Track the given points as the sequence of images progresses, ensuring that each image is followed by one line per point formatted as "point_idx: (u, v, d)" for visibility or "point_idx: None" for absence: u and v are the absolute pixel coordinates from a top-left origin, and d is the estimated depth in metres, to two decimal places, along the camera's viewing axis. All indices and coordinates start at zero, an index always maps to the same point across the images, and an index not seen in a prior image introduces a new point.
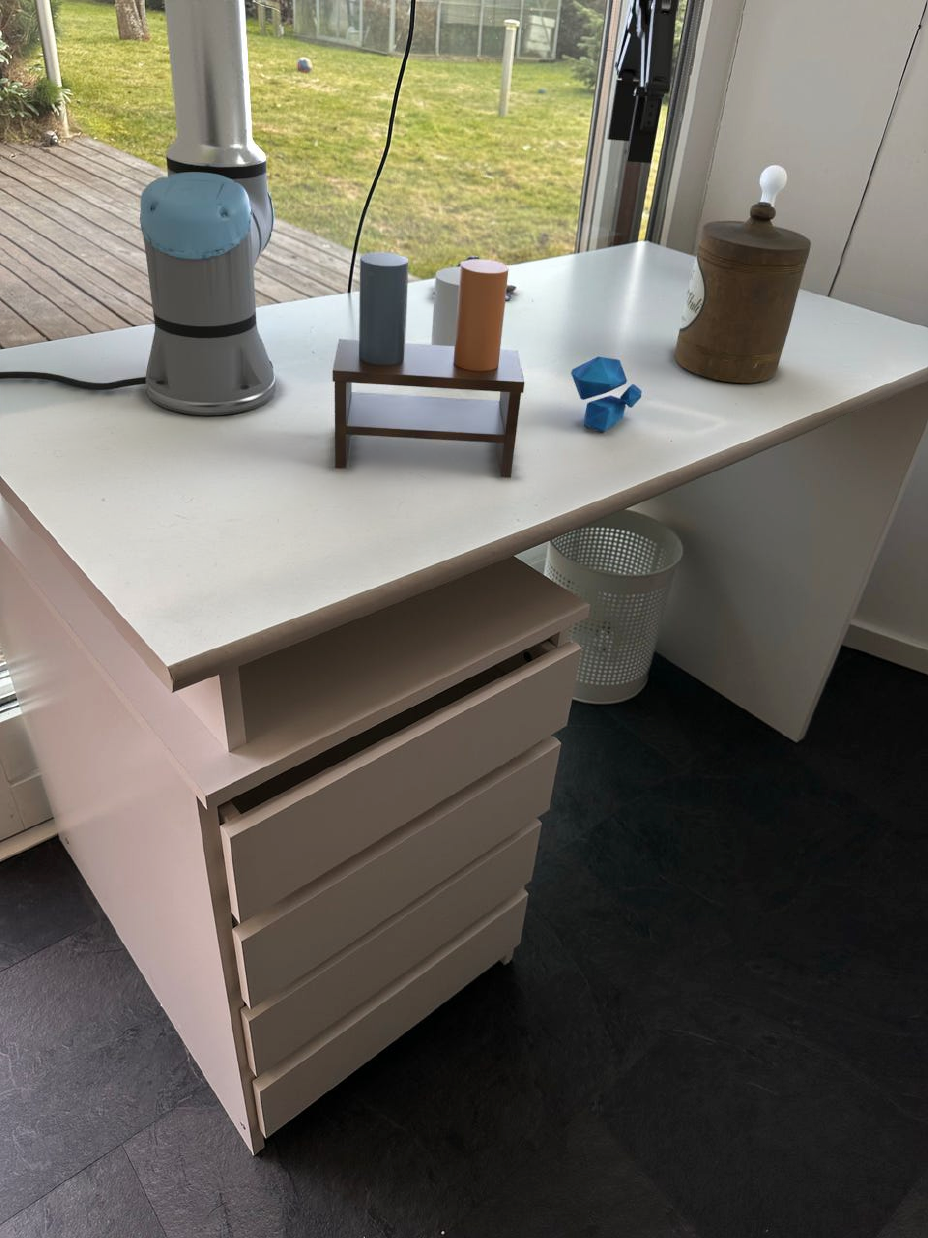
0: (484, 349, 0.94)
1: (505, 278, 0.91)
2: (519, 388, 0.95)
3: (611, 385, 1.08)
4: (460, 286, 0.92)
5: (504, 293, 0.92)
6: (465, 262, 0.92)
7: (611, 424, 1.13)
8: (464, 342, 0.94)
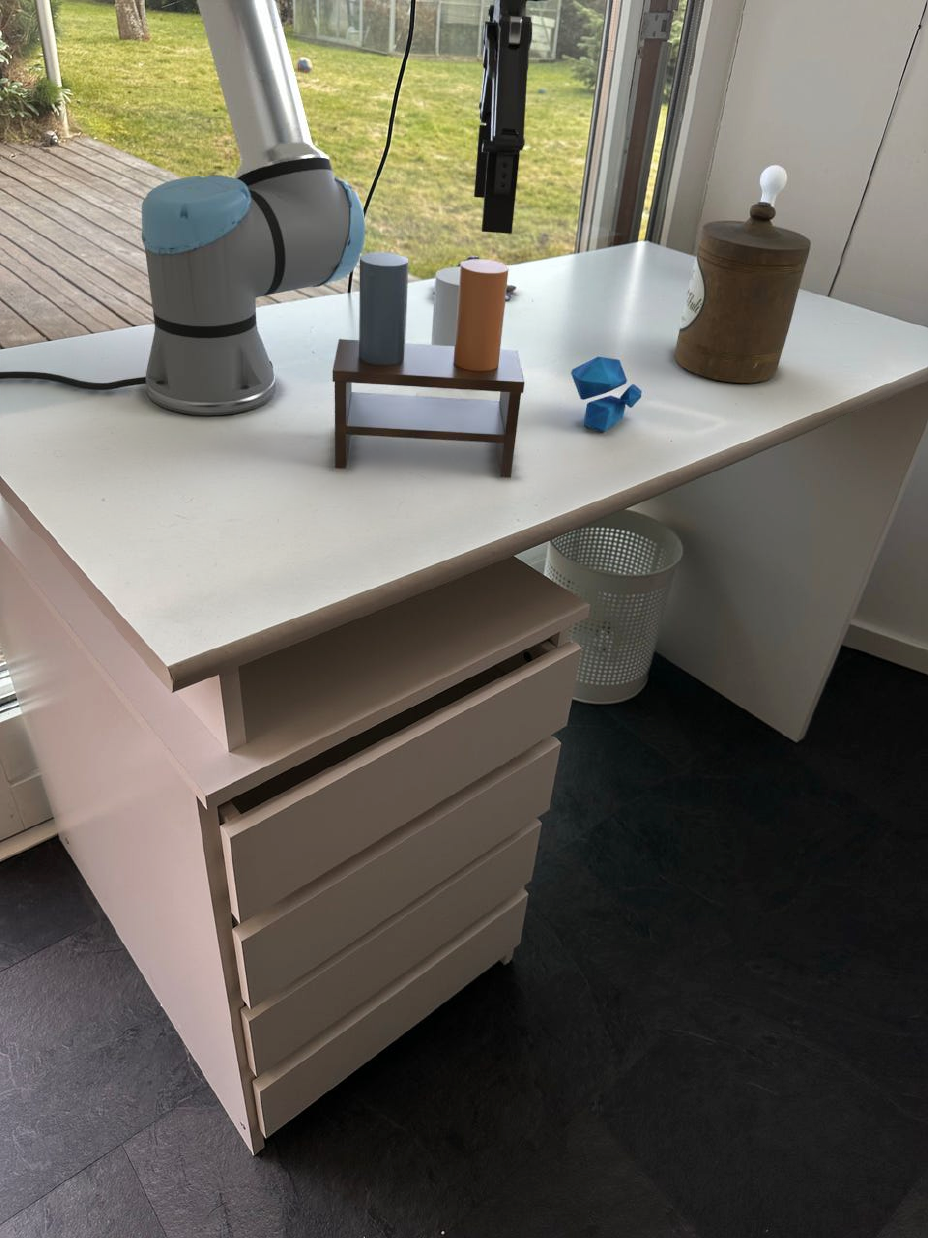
0: (484, 349, 0.94)
1: (505, 278, 0.91)
2: (519, 388, 0.95)
3: (611, 385, 1.08)
4: (460, 286, 0.92)
5: (504, 293, 0.92)
6: (465, 262, 0.92)
7: (611, 424, 1.13)
8: (464, 342, 0.94)
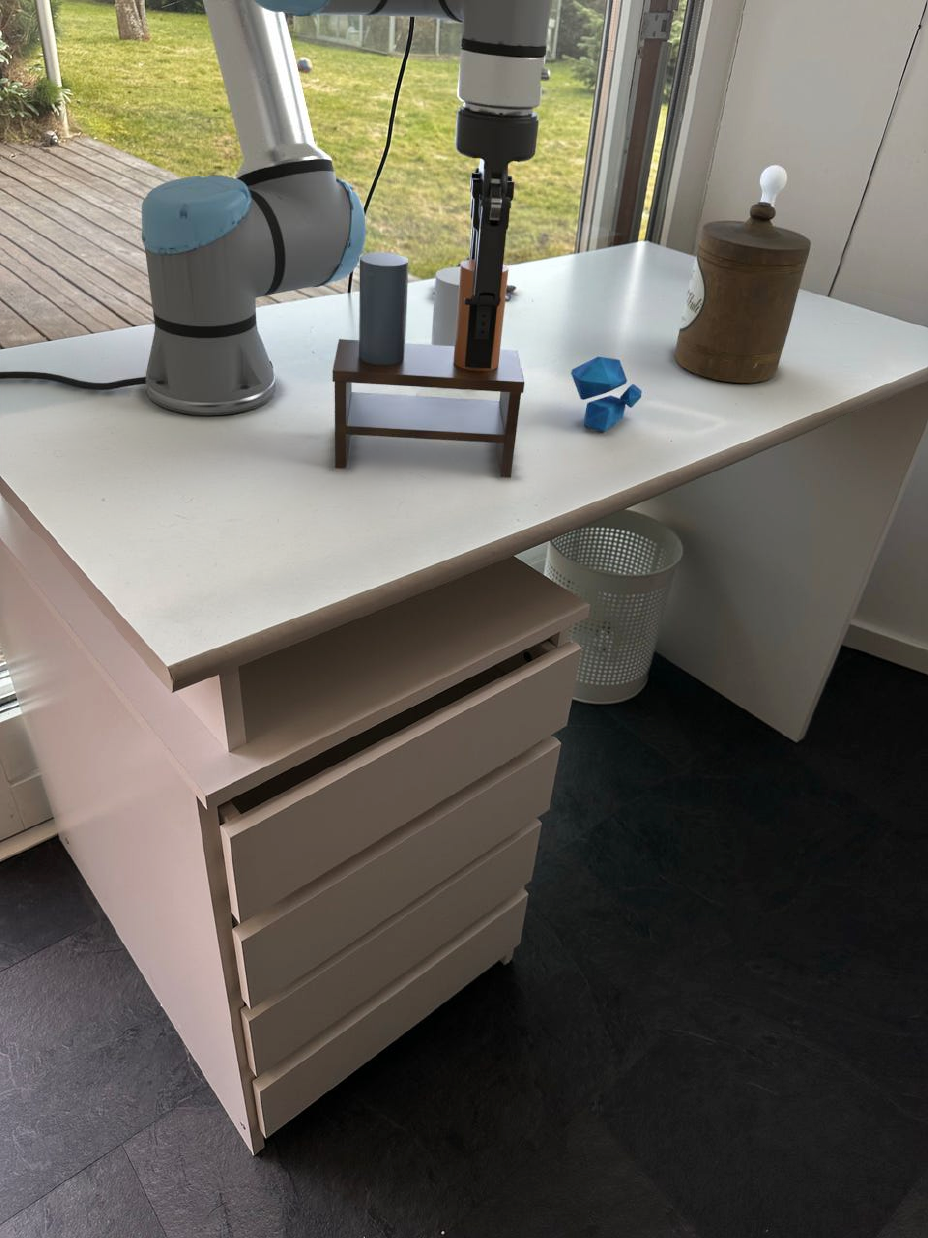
0: None
1: (505, 278, 0.91)
2: (519, 388, 0.95)
3: (611, 385, 1.08)
4: (460, 286, 0.92)
5: (504, 293, 0.92)
6: (465, 262, 0.92)
7: (611, 424, 1.13)
8: (464, 342, 0.94)
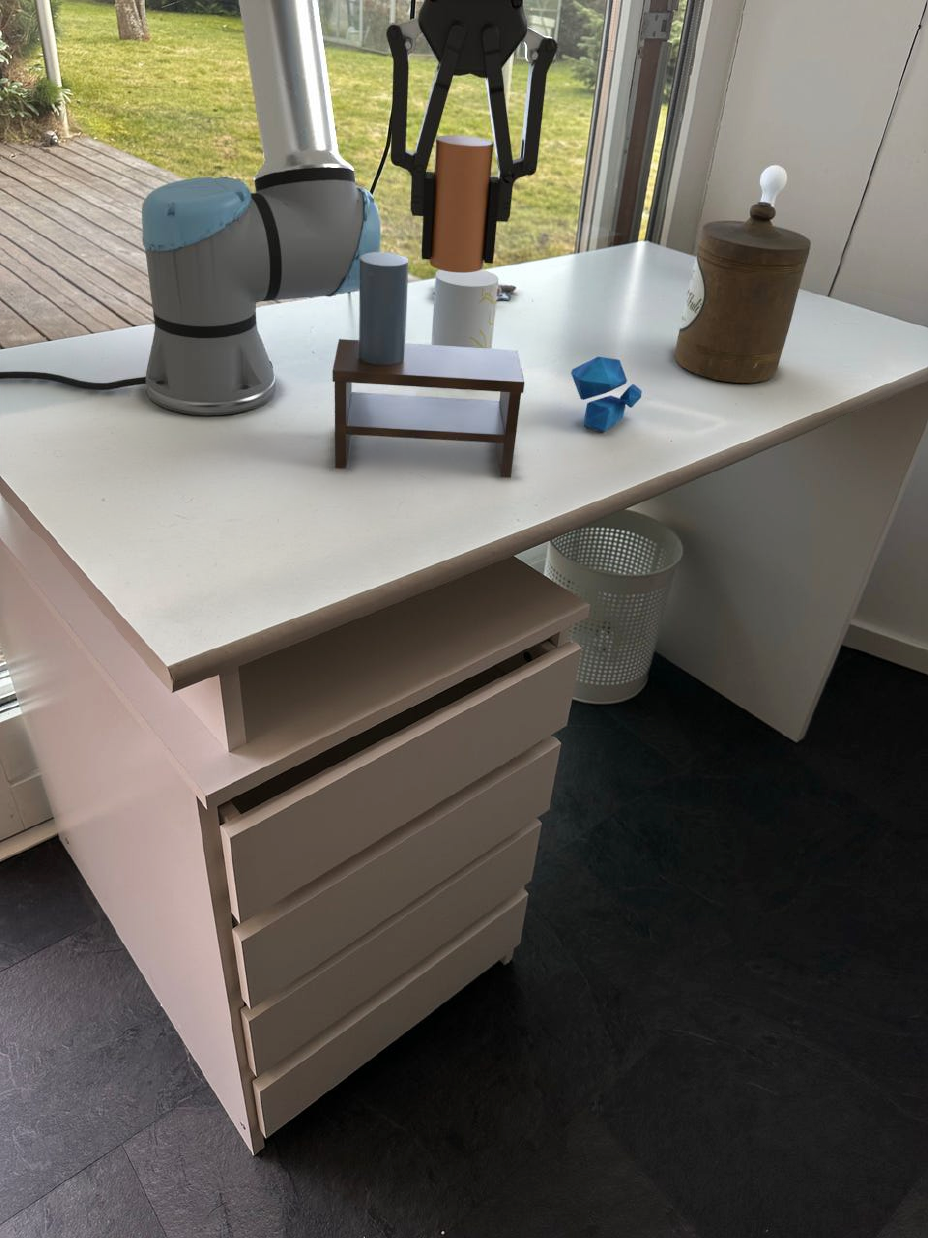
0: None
1: (451, 153, 0.75)
2: (519, 388, 0.95)
3: (611, 385, 1.08)
4: None
5: (451, 174, 0.76)
6: (472, 137, 0.78)
7: (611, 424, 1.13)
8: None
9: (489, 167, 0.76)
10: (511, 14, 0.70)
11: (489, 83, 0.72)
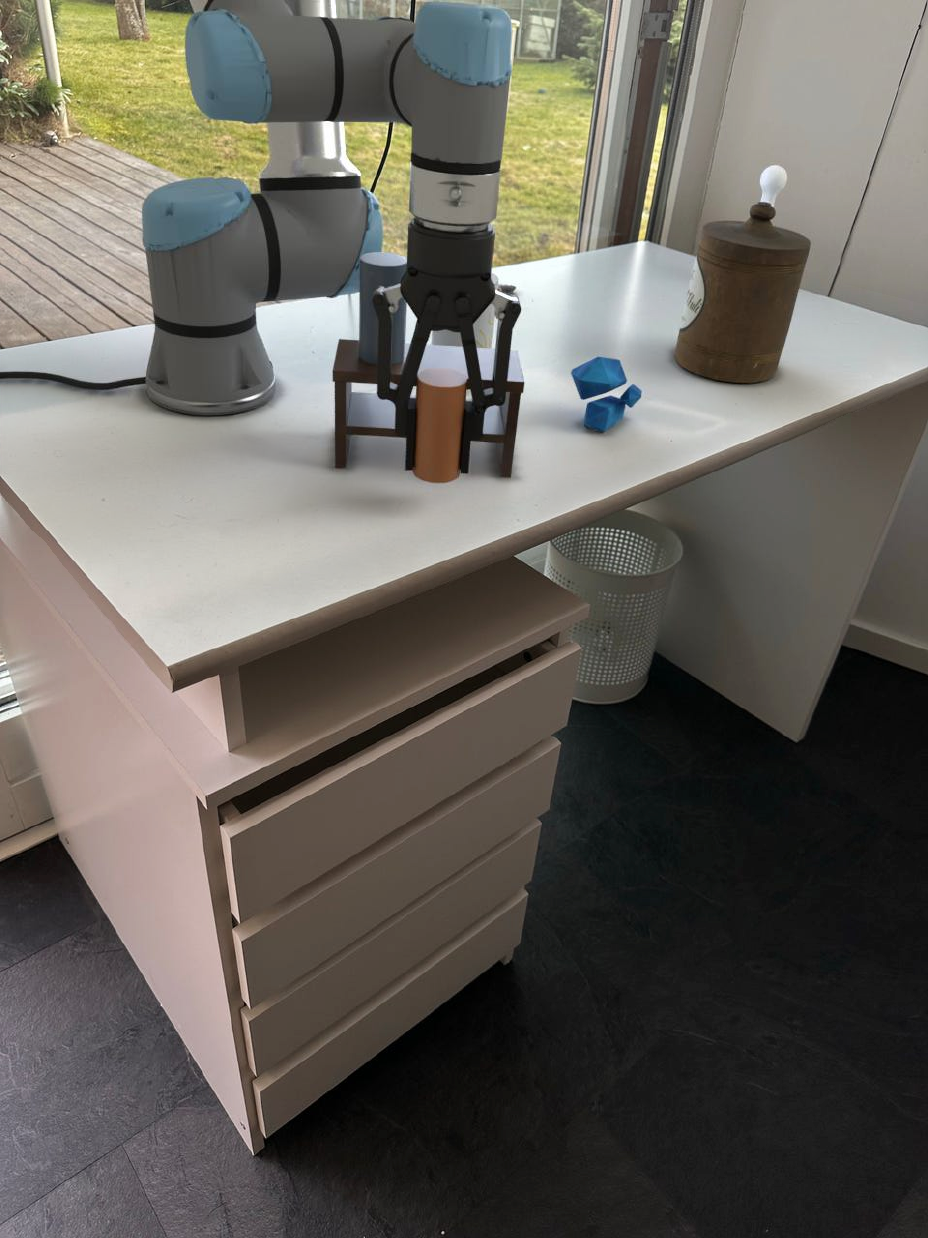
0: None
1: (429, 392, 0.85)
2: (519, 388, 0.95)
3: (611, 385, 1.08)
4: None
5: (430, 408, 0.86)
6: (449, 370, 0.88)
7: (611, 424, 1.13)
8: None
9: (463, 400, 0.87)
10: (480, 285, 0.81)
11: (462, 338, 0.83)
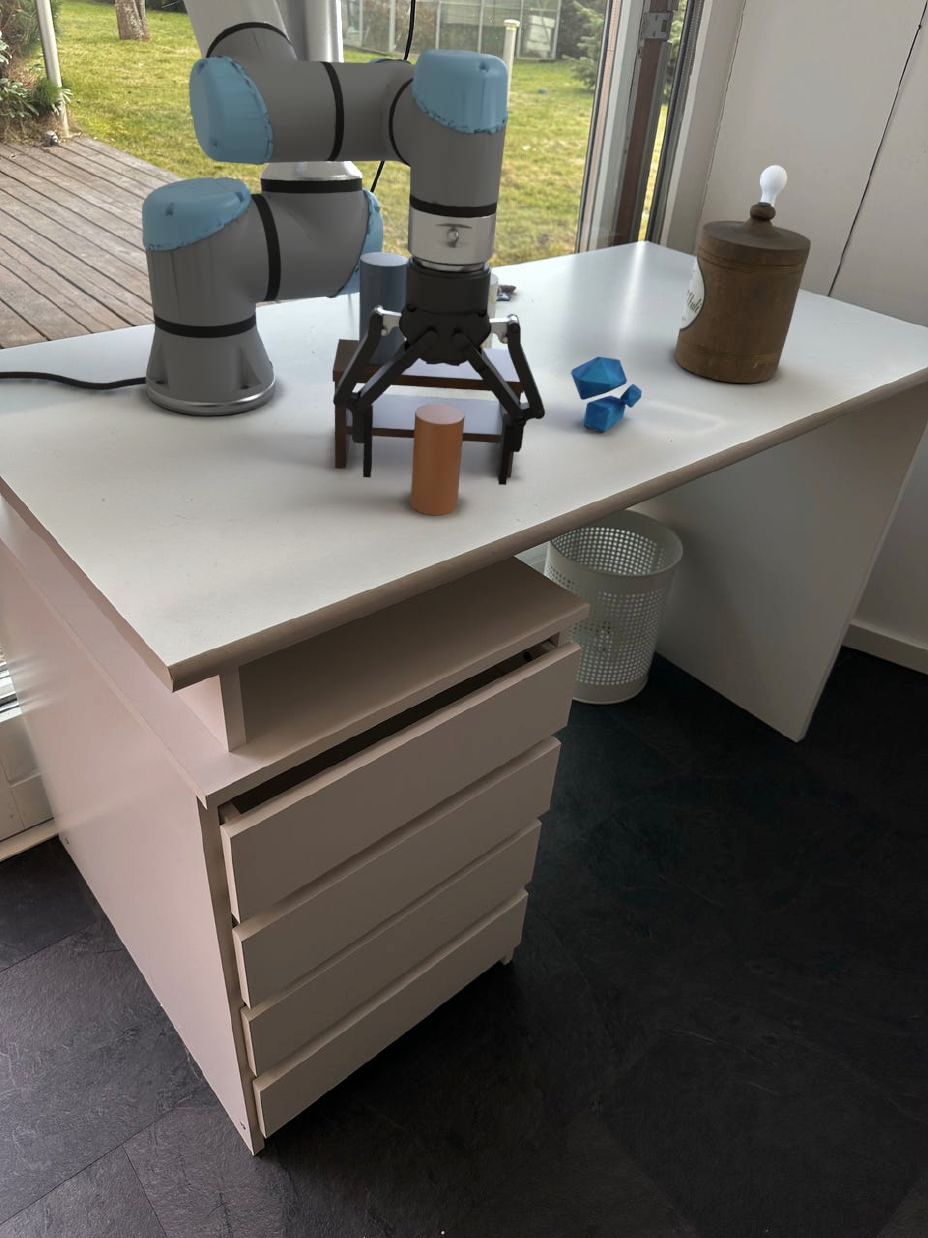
0: (412, 484, 0.93)
1: (427, 429, 0.88)
2: (519, 388, 0.95)
3: (611, 385, 1.08)
4: None
5: (428, 444, 0.88)
6: (447, 406, 0.90)
7: (611, 424, 1.13)
8: None
9: (460, 435, 0.89)
10: (473, 323, 0.83)
11: (474, 368, 0.85)
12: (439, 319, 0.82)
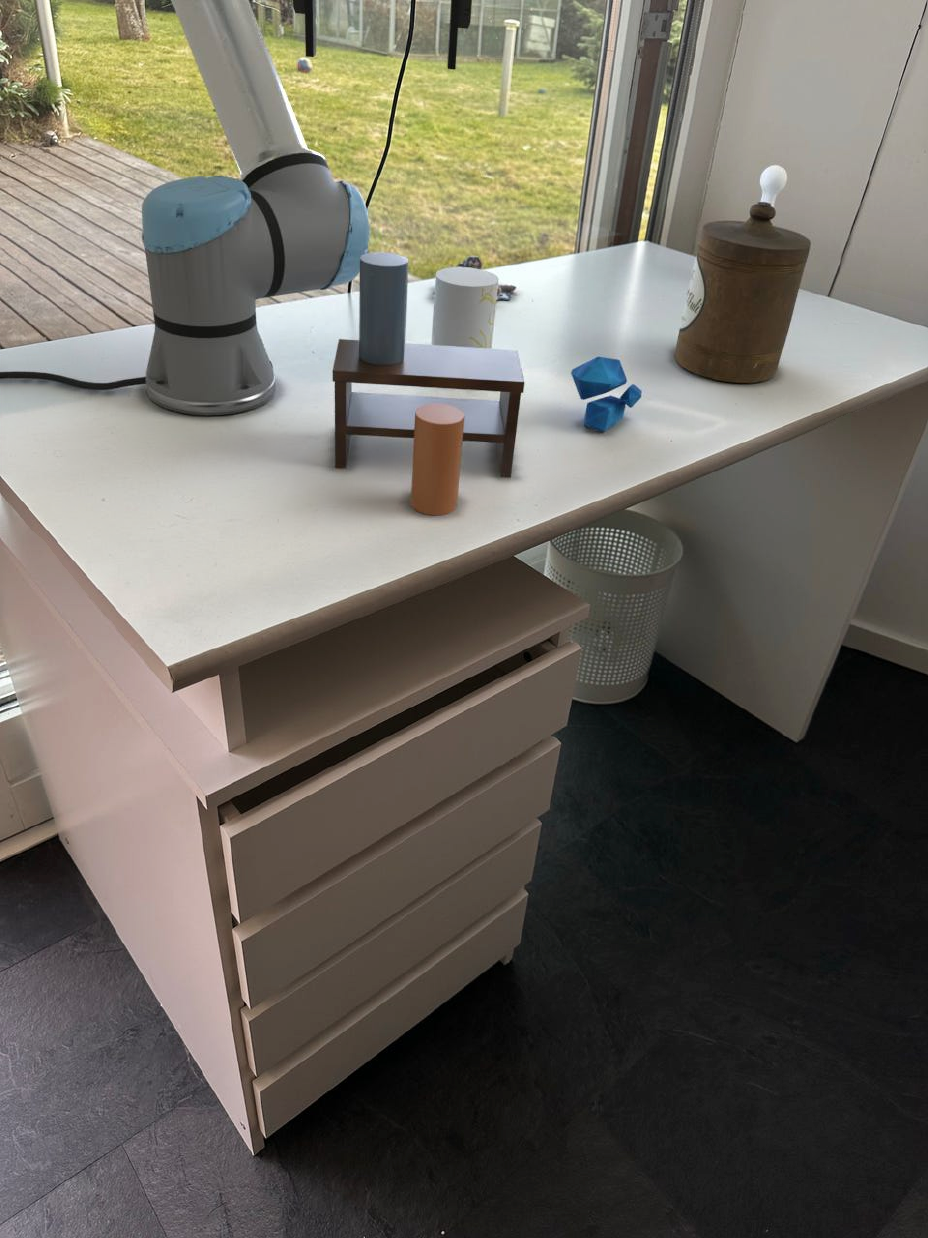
0: (412, 484, 0.93)
1: (427, 429, 0.88)
2: (519, 388, 0.95)
3: (611, 385, 1.08)
4: None
5: (428, 444, 0.88)
6: (447, 406, 0.90)
7: (611, 424, 1.13)
8: None
9: (460, 435, 0.89)
10: None
11: None
12: None
